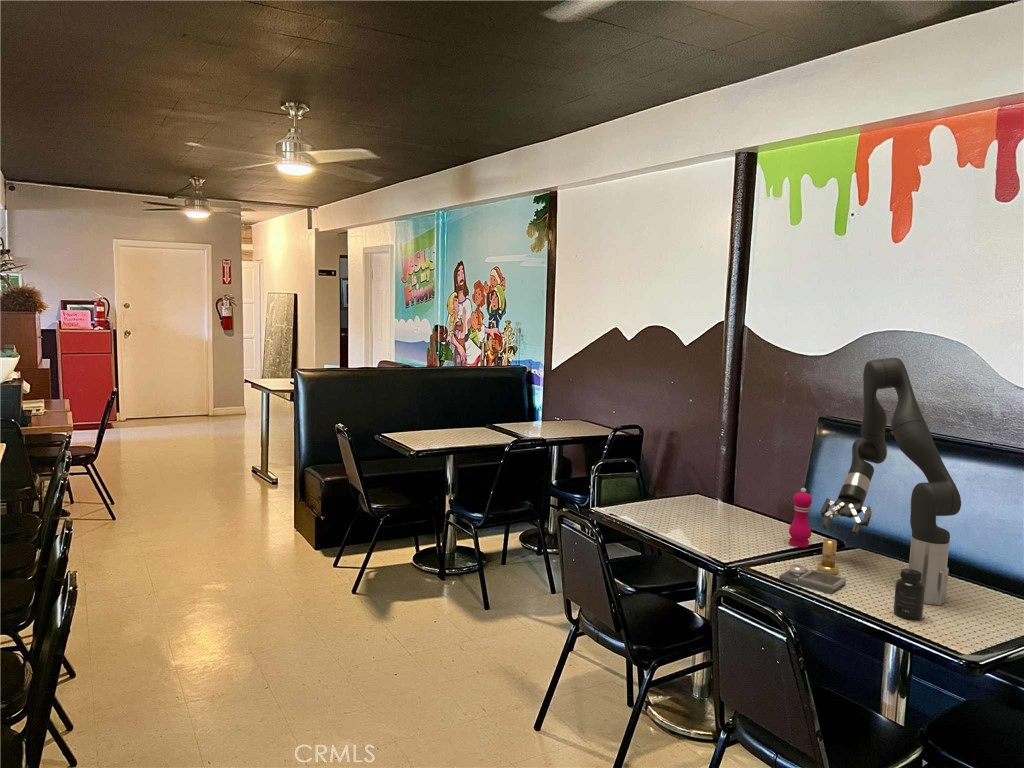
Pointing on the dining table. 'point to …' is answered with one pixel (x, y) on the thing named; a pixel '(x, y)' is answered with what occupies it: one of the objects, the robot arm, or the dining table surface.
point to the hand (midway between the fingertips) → (839, 531)
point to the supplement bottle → (909, 595)
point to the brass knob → (828, 558)
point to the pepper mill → (801, 520)
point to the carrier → (813, 579)
